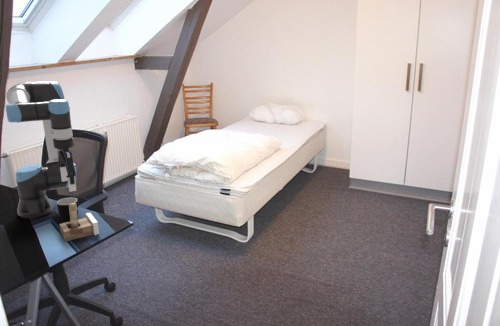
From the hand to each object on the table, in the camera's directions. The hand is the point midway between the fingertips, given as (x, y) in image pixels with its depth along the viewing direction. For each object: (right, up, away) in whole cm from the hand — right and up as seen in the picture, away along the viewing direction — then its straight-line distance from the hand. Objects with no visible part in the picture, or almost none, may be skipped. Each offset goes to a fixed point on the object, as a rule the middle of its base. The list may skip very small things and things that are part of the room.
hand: (68, 185), depth 168 cm
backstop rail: (+6, -21, +11) cm, 24 cm away
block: (0, -22, +7) cm, 23 cm away
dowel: (0, -21, +7) cm, 22 cm away
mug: (-9, -17, +21) cm, 29 cm away
